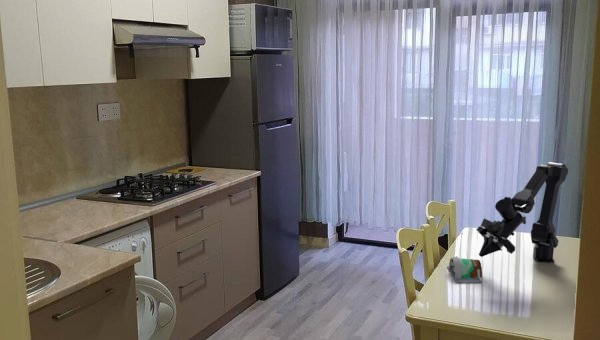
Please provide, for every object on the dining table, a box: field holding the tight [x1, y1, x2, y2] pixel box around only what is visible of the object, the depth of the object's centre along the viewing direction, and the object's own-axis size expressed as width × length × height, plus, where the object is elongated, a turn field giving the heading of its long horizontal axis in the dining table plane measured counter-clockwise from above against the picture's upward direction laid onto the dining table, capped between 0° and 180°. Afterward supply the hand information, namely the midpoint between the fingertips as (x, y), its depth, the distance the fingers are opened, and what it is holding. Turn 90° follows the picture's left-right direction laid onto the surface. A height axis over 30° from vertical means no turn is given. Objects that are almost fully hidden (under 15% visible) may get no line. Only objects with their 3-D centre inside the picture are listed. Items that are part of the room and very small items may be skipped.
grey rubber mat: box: [446, 265, 483, 284], centre depth 213 cm, size 10×16×1 cm, turn 176°
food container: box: [448, 256, 483, 279], centre depth 213 cm, size 12×6×10 cm
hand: (479, 255), depth 212 cm, fingers closed
